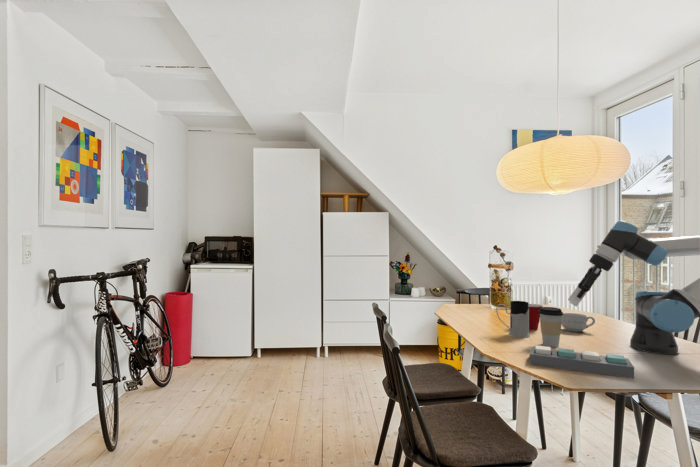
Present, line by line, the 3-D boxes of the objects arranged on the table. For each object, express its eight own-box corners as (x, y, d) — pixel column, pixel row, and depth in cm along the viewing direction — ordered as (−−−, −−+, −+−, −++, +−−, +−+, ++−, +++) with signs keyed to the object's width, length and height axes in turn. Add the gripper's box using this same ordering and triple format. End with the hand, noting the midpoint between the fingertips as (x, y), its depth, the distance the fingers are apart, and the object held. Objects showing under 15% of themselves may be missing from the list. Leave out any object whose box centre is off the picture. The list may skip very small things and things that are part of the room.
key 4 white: (550, 353, 141) (550, 347, 141) (550, 357, 137) (550, 350, 137) (535, 351, 143) (535, 345, 143) (535, 355, 139) (535, 348, 139)
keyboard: (628, 368, 133) (628, 358, 133) (634, 378, 124) (634, 367, 124) (530, 356, 146) (530, 347, 146) (529, 364, 137) (529, 354, 137)
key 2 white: (597, 359, 135) (597, 352, 135) (599, 363, 130) (599, 356, 130) (581, 357, 137) (581, 350, 137) (582, 361, 132) (582, 354, 132)
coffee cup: (566, 349, 156) (566, 311, 156) (541, 347, 158) (541, 310, 158) (559, 342, 166) (559, 307, 166) (535, 341, 167) (535, 306, 168)
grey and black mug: (531, 338, 172) (531, 304, 172) (497, 336, 176) (497, 302, 176) (528, 333, 181) (528, 301, 181) (495, 331, 184) (495, 299, 185)
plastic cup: (534, 326, 197) (534, 302, 197) (548, 331, 186) (548, 305, 186) (514, 326, 195) (514, 302, 195) (526, 331, 184) (527, 306, 185)
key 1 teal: (623, 362, 131) (623, 355, 131) (625, 366, 127) (625, 359, 127) (606, 360, 134) (606, 353, 134) (608, 364, 129) (608, 357, 129)
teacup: (557, 330, 187) (557, 313, 188) (565, 327, 195) (565, 310, 195) (590, 336, 178) (590, 318, 178) (597, 332, 185) (597, 315, 185)
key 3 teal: (573, 356, 138) (573, 349, 138) (574, 360, 133) (574, 353, 133) (558, 354, 140) (558, 347, 140) (558, 358, 136) (558, 351, 136)
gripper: (591, 253, 165) (561, 295, 169) (598, 252, 143) (564, 300, 147) (609, 263, 162) (579, 305, 166) (619, 263, 140) (584, 312, 143)
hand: (571, 303), depth 156 cm, fingers open, 13 cm apart
